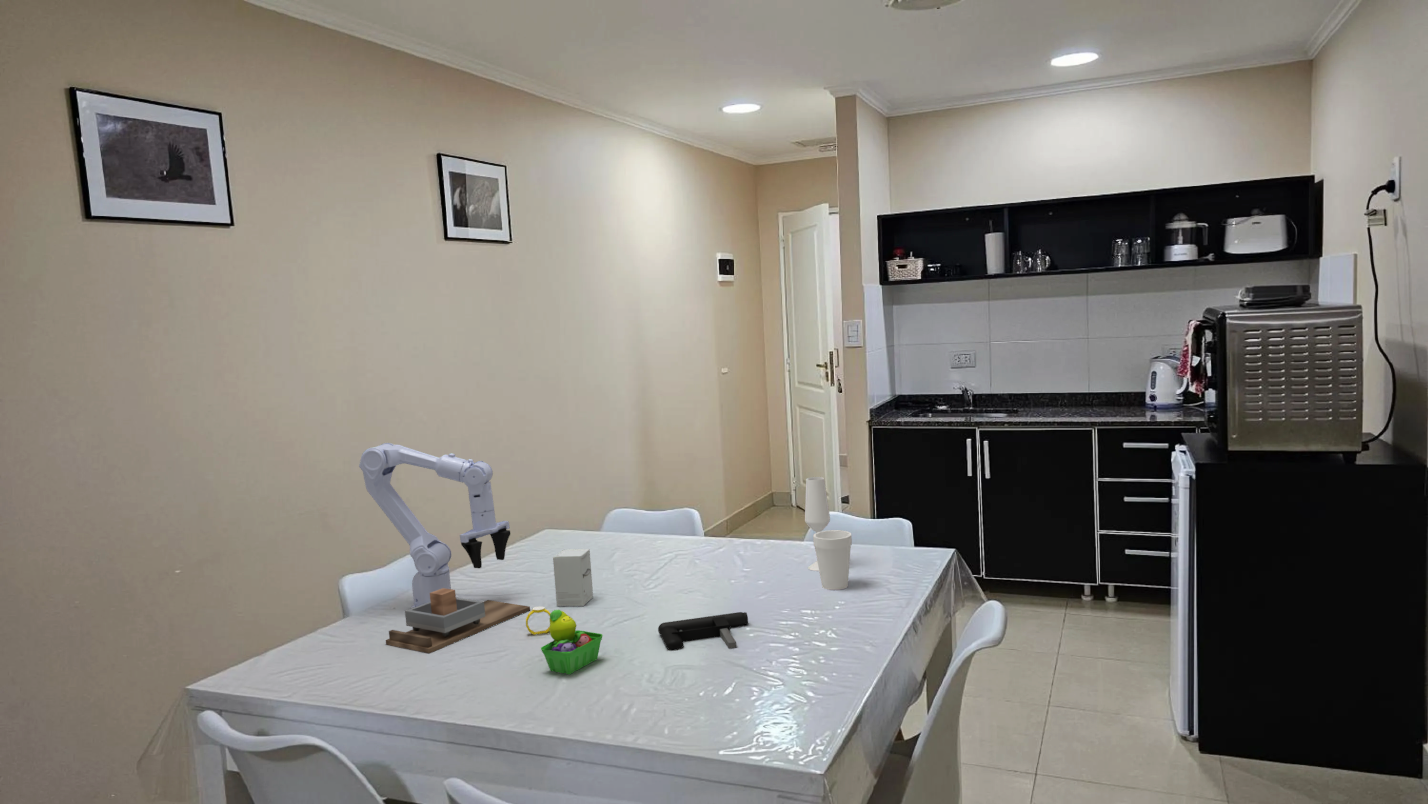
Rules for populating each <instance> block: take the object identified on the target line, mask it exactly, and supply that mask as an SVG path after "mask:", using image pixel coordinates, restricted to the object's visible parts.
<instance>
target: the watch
mask: <svg viewBox="0 0 1428 804" xmlns="http://www.w3.org/2000/svg"><path fill="white" fill-rule="evenodd" d="M543 612H544V613H546V614H547V615H548V616H549V617H550V614H551V612H550V611H549V610H548V609H546V607H545V606H534V607H533V608H532V610H530V611H529V613H527V615H526V618H525V626H526V627H525V628H526V629H527V631H528V632H529V633H530V634H532V636H533V635H534V636H536V634H537V635H543V633H544V634H548V633H550V631H549V627H550V625H549V627H547V629H545V630H538V631H534V630H532V628H530V626H529V622H528V621H529V619H530V617H531V616H532V615H533V614H535V613H536V614H539V613H543Z"/></svg>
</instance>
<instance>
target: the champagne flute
mask: <svg viewBox="0 0 1428 804" xmlns="http://www.w3.org/2000/svg"><path fill="white" fill-rule="evenodd" d="M826 489H827V488H826V481H825V478H824V477H823V476H813V477H807V478H806V479H805V501H804V504H805V505H804V507H805V508H804V522H805V524H806V525H807V526H808V527H809V528H810V529H811V530H812V531H813V532H815V533H817V532H822V531H824V529H826V527H827V526H828V525H829V523H830V521H831V515H830V509H829V502H828V495H827V490H826ZM807 569H808V570H810V571H814V572H819V567H818V562H817V560H816V561H815V562H812V563H811V564H810V565H809V566H808V567H807Z"/></svg>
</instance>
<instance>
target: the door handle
mask: <svg viewBox="0 0 1428 804" xmlns="http://www.w3.org/2000/svg"><path fill="white" fill-rule="evenodd" d="M748 617H749V616H748V613H747V612H746V611H744V612H742V611H740V612H732V613H725V614H717V615H710V616H702V617H693V618H688V619H682V620H673V621H667V622H662V623H660V624H659V625H658V628H657V632H658V634H659V635H660V637H661V638H662V640H663V643H664V645H665V647H666V649H667V650H669V651H675V650H681V649H682V648H683V647H684V642H690V641H691V642H692V641H698V640H705V639H712V638H719V637H720V639H721V640H722V641H723V642H724V644H725V645H726V647H727V648H728V649H729V650H730V649H736V648H738V646H737V641H736V640H735V637H734V636H733V635H732V633H731V628H735V627H740V626H741V627H742V626H745V625H747V624H749V618H748Z"/></svg>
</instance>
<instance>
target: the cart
mask: <svg viewBox="0 0 1428 804" xmlns="http://www.w3.org/2000/svg"><path fill="white" fill-rule="evenodd" d="M456 604H457V611H455V612H452V613H450V614H447V615H445V616H443V615H437V614H432V612H431V601H430V602H428V603H425V604H422V605H419V606H417V607H414V608H412V607H411V608H409V609H406V610H404V615H405V626H407V627H412V630H414V631H419V630H420V628H421V629H426V630H432V631H437V632H442V635H443V636H444V637H448V636H449V635H450V631H451V630H454V629H456V628H458V627H461V626H463V625H466V624H468V623H471V622H473V623H474V624H479V622H480V618H483V617H485V607H484V601H481V600H474V599H470V598H469V599H468V598H463V597H457V596H456Z"/></svg>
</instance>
